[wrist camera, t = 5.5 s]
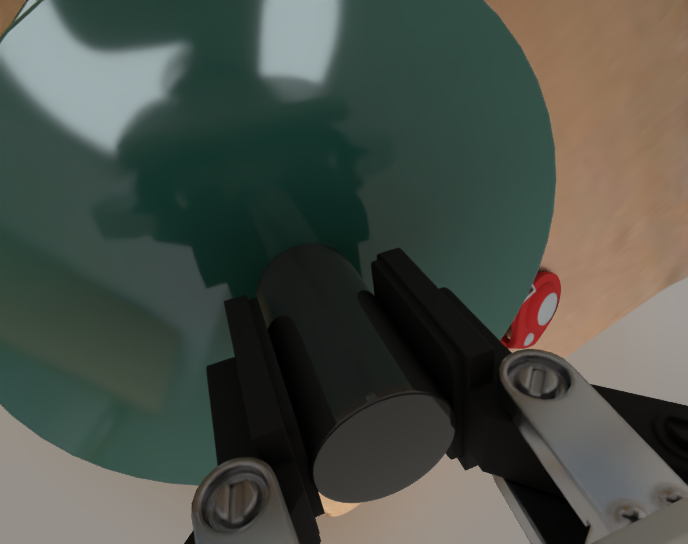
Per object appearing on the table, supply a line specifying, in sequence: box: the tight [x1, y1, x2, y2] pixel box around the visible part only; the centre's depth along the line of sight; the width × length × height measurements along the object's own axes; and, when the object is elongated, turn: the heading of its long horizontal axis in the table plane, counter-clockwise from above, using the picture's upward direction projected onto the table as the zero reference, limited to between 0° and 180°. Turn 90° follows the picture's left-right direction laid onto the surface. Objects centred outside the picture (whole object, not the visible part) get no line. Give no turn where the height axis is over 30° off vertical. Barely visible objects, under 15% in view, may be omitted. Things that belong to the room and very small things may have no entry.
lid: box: [0, 0, 556, 503], centre depth 11 cm, size 16×16×7 cm
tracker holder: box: [500, 272, 561, 349], centre depth 49 cm, size 12×4×10 cm
